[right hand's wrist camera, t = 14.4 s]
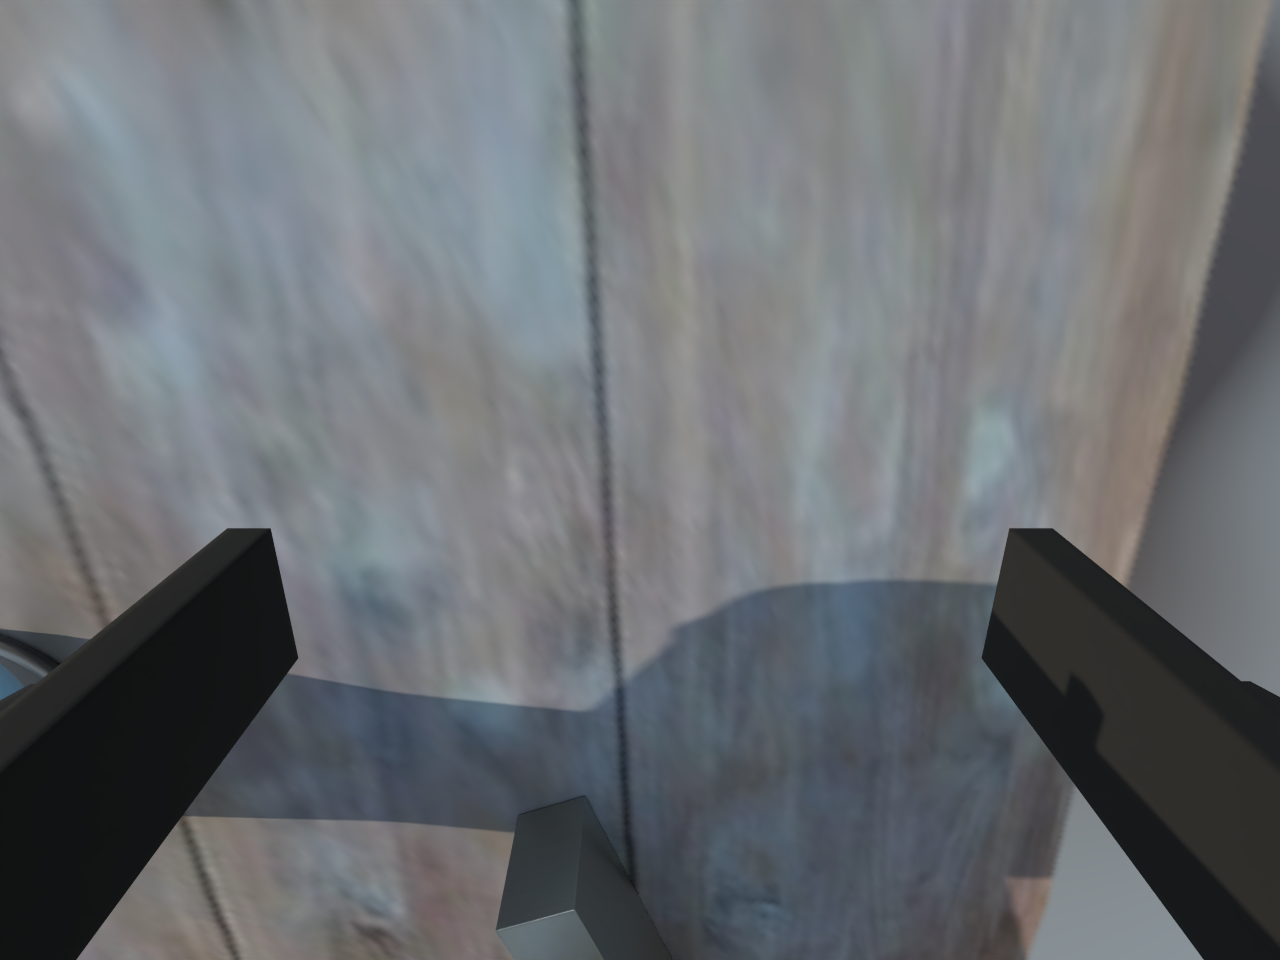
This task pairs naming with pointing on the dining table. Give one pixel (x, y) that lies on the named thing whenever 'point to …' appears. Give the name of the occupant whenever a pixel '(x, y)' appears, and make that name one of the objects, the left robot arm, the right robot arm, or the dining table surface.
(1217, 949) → the right robot arm
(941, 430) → the dining table surface
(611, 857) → the bar
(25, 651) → the left robot arm
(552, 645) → the dining table surface
